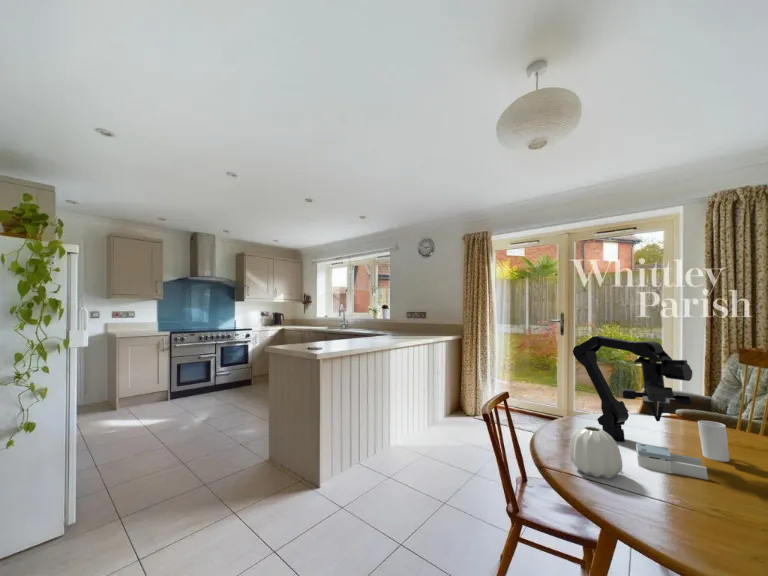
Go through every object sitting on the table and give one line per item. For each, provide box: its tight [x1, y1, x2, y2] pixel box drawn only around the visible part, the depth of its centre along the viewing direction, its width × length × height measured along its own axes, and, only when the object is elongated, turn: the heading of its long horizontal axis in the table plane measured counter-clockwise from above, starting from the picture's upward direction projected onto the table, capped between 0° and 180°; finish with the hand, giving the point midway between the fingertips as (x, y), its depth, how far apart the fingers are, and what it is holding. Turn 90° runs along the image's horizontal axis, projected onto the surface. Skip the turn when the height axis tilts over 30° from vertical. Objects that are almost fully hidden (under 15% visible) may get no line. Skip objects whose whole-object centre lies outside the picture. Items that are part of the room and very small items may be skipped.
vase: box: [569, 425, 623, 479], centre depth 100 cm, size 14×14×13 cm
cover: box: [636, 442, 671, 461], centre depth 103 cm, size 8×8×2 cm
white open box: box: [635, 443, 709, 480], centre depth 103 cm, size 16×18×4 cm
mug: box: [697, 420, 730, 463], centre depth 108 cm, size 10×7×12 cm, turn 127°
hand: (657, 421), depth 111 cm, fingers closed
